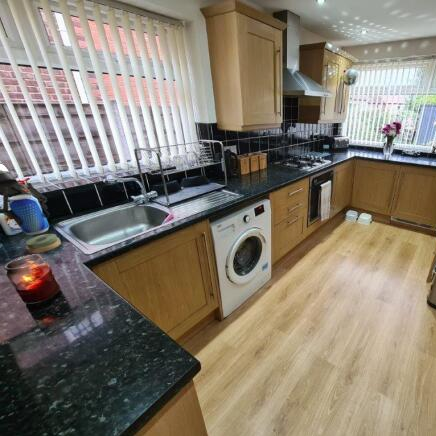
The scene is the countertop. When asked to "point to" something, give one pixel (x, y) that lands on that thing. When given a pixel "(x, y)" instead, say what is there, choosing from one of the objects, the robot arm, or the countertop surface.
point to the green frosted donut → (42, 243)
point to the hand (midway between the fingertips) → (35, 219)
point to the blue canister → (29, 214)
